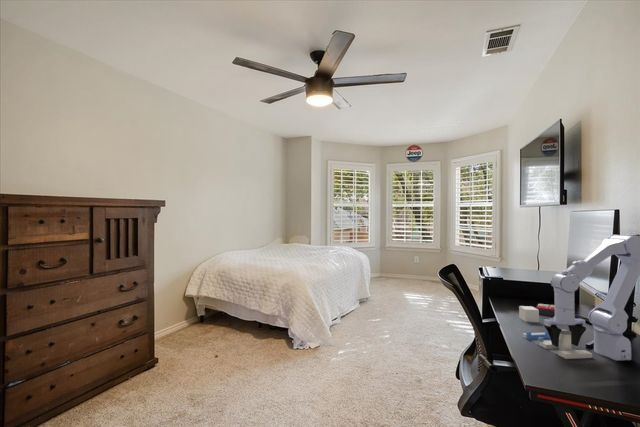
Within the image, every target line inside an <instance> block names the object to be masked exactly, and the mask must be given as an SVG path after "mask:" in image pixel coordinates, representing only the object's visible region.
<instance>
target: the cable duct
mask: <svg viewBox="0 0 640 427" xmlns="http://www.w3.org/2000/svg"><path fill="white" fill-rule="evenodd" d="M522 338H524V339H525V340H527V341H530V342H532V343H534V344H536V345H537V346H540V347H542V348H543V349H545V350H547V351H549V352H552V353H554V354H555V355H557V356H559V357H561V358H562V359H564V360H565V359H566V360H570V359H573V360H574V359H592V358H593V353H592V352H590V351H588V350H586V349H578V350H576V349H574V348H572V347H571V351H559V346H558V347H556V346H554V345H552V343H551V339H550V336H549V334H548V332H547V330H544V332H532V331H526V332H522Z"/></svg>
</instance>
